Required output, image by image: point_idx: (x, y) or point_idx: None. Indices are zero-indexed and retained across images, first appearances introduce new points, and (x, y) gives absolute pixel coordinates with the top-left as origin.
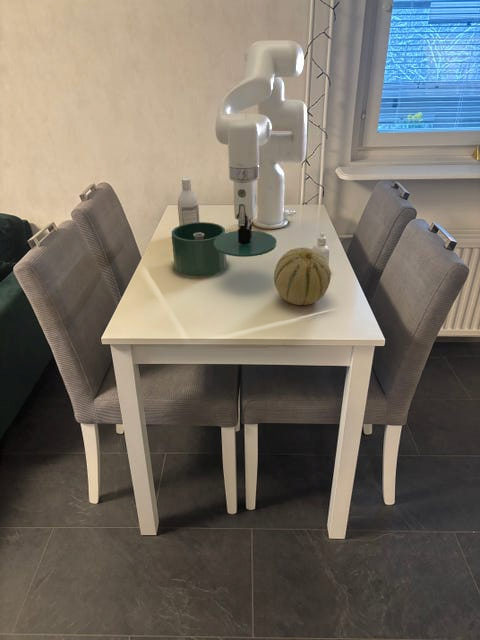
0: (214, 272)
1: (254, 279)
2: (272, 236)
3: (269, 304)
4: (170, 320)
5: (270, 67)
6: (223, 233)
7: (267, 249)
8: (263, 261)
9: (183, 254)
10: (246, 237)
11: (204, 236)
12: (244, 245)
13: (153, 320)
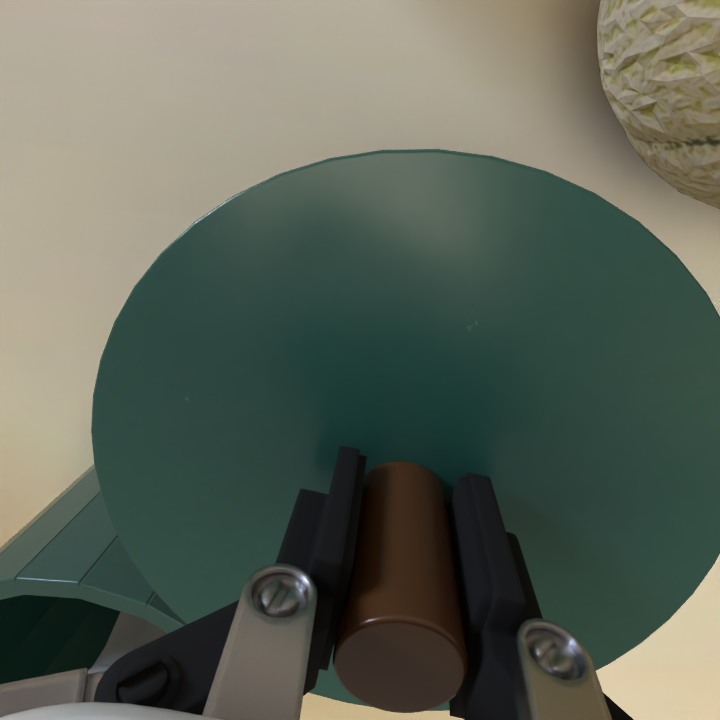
0: None
1: None
2: (275, 189)
3: (709, 244)
4: (703, 661)
5: None
6: (126, 598)
7: (678, 303)
8: (117, 211)
9: None
10: (524, 562)
11: (12, 598)
12: None
13: (680, 706)
